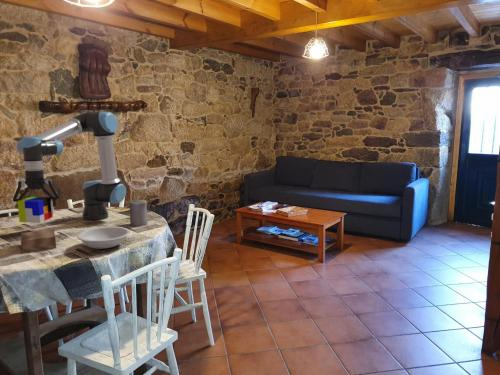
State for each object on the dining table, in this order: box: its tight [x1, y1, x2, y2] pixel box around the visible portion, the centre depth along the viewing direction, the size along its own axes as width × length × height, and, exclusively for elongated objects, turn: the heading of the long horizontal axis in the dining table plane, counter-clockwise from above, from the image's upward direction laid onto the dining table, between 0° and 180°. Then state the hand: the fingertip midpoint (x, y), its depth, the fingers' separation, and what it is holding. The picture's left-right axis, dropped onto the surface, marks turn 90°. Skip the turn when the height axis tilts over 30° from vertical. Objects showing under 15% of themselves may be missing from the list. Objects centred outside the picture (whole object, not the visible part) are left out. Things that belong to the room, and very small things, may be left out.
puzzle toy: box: [16, 196, 54, 224], centre depth 182 cm, size 10×10×10 cm
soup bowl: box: [76, 226, 131, 250], centre depth 185 cm, size 24×24×7 cm
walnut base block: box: [20, 229, 57, 254], centre depth 185 cm, size 14×14×6 cm
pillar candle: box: [128, 199, 148, 227], centre depth 223 cm, size 10×10×15 cm
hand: (38, 214), depth 184 cm, fingers closed on puzzle toy, 12 cm apart
